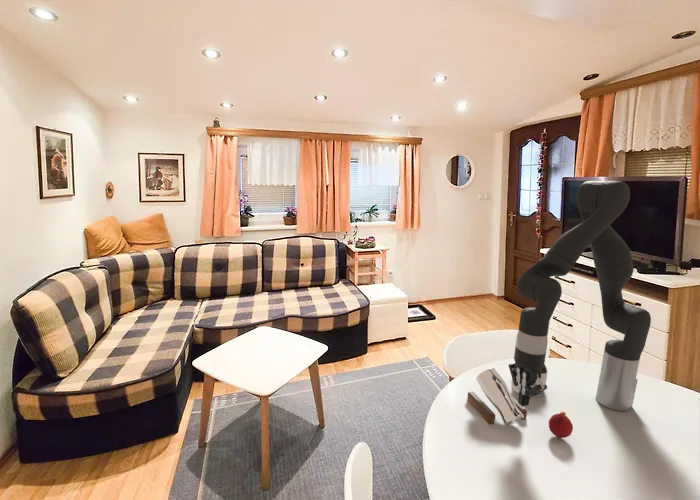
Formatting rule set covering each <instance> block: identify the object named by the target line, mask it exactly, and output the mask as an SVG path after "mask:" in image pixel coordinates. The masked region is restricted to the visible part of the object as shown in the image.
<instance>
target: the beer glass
mask: <svg viewBox="0 0 700 500" xmlns="http://www.w3.org/2000/svg"><path fill="white" fill-rule="evenodd" d="M476 381H477V383H478V385H479V387H480V388H481V390H482V392H483V394H484V396H485V397H486V398H487V399H488V401H489V402H490V404H491V405H492V406H493V407H494V408H495V409H496V410H497V412H498V413H499V415H500V418H501V420H502V422H503V424H504V427H508V426H509V427H510V426H512V425H514V424H516V423H518V422H520V421H522V420H521V419H523V418H524V415H523V414H522V413H521V412H520V410H519V409H518V408H517V407H516V405H515V403H514V401H513V399H512V397H513V396H512V395H511V393H510V390H509V388H508V386H507V384H506V383H505V381H504V379H503V377H501V375H500V374H499V372H498V371H497V369H496V368H493V367H492V368H488V369H486V370H483V372H480V373H479V374H478V375H477V376H476ZM511 396H512V397H511Z"/></svg>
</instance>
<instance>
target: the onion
mask: <svg viewBox="0 0 700 500" xmlns="http://www.w3.org/2000/svg"><path fill="white" fill-rule="evenodd" d="M566 414H567V413H566V412H565V411H561V412H560V413H555V414H553V415H552V416H551V417H550V418H549V420H548V428H549V431H550V432H551V434H553V436H555V437H556V438H558V439H564V438H568V437H570V436H571V435H572V432H573V431H574V430H573V429H574V426H573V423H572V421H571V419H570V418H569V417H568V416H566Z"/></svg>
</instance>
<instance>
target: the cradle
mask: <svg viewBox="0 0 700 500" xmlns="http://www.w3.org/2000/svg"><path fill="white" fill-rule="evenodd" d="M511 397H512V399H513V401H514V403H515V405H516V407H517V408H518V409H519V410H520V412H521V413H522V414H523V415H524V418H523V419H521V420H520V421H523V420H527V416H528V409H527V408H526V406H521V405H520V404H519V403H518V399H516V398H515V397H514V396H512V395H511ZM466 401H467V402H468V404H469V405H471V407H472V408H473V409H474V410H475V411H476V412H477V413H478V415H479V416H480V417H481V418H482V419H483V420H484V421H485V423H487V424H488V425H489V426H490V425H495V421H496V414H495V412H494V411H493V410H492V409H491V408H490V407H489V406H488V405H487V404H486V403H485V402H484V401H483V400H482V398H480V397H479V396H478V395H477V394H476V393H475V392H474V391H469V392H467V398H466Z"/></svg>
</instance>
